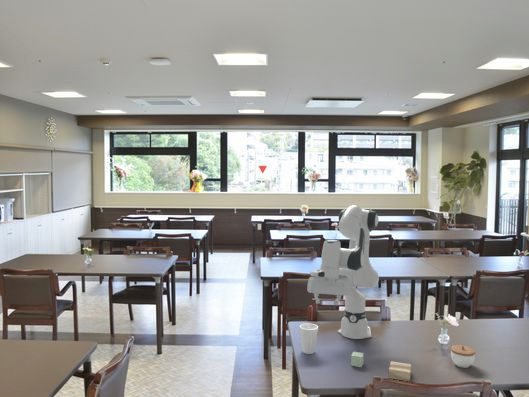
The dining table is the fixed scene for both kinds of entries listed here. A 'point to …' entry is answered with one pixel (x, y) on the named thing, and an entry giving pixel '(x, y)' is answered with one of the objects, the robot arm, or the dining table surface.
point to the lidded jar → (462, 355)
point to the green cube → (357, 359)
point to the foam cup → (308, 337)
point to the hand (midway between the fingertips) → (326, 304)
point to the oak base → (400, 371)
